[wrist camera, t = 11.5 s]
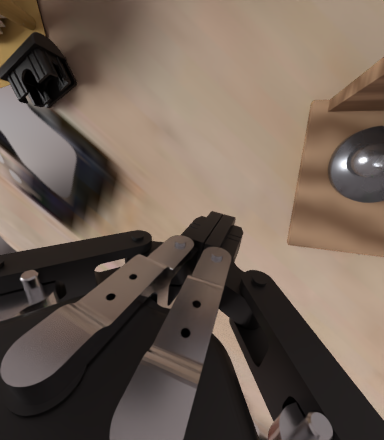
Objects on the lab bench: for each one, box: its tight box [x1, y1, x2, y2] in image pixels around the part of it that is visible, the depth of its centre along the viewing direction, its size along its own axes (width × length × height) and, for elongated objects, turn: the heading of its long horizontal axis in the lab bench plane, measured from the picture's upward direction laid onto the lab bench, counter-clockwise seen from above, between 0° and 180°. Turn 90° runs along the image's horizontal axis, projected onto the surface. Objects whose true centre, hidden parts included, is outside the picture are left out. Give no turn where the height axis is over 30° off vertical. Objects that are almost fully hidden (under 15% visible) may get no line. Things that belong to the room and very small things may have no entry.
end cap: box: [0, 32, 77, 108], centre depth 38 cm, size 10×7×7 cm
